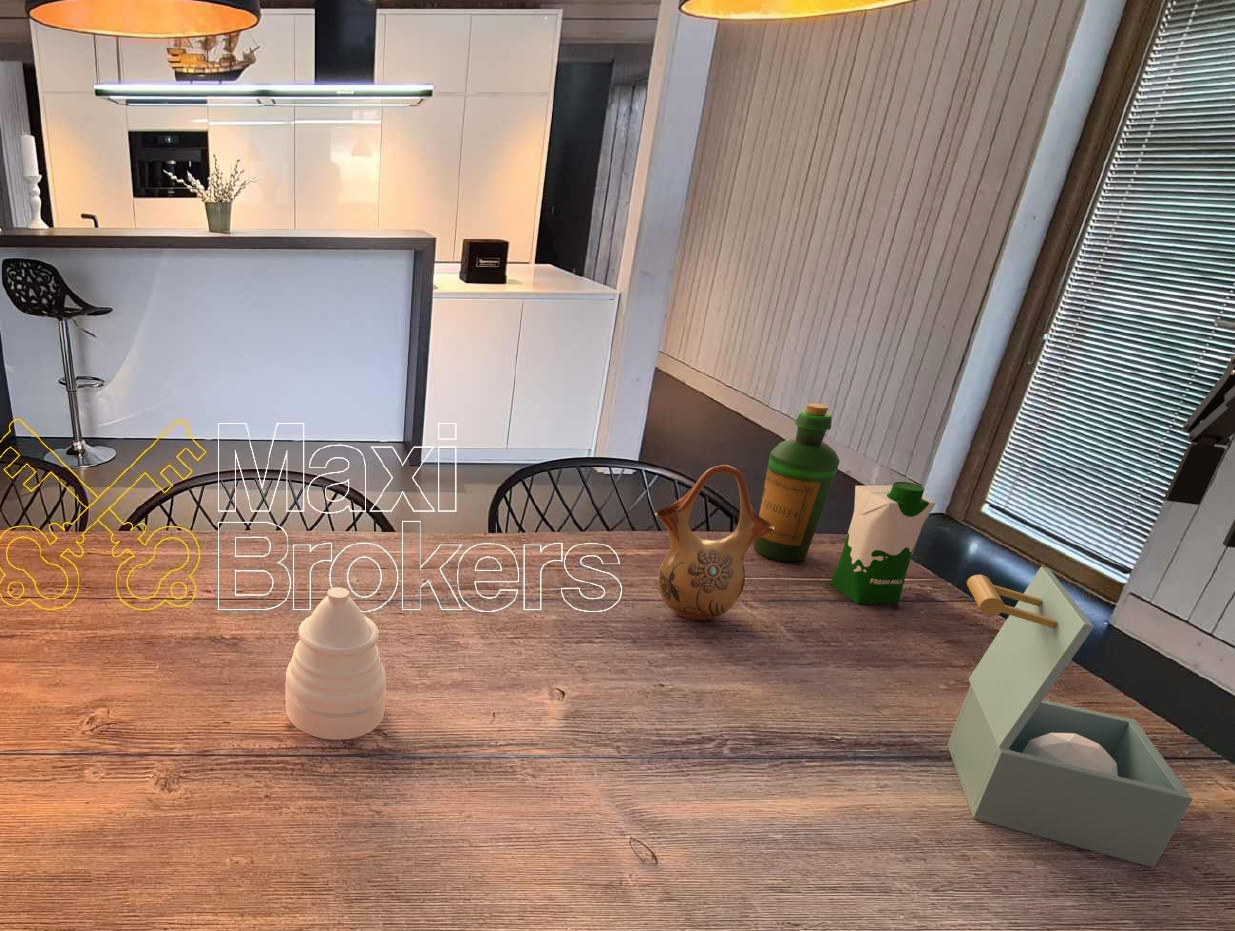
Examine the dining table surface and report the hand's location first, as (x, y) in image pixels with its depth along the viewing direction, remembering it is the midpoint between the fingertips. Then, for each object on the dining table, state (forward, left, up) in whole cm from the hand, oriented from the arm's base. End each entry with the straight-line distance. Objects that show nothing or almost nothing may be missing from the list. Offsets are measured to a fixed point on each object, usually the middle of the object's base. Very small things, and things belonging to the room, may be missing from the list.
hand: (1209, 523), depth 84 cm
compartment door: (+14, +12, -14) cm, 23 cm away
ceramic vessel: (+45, -15, -31) cm, 57 cm away
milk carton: (+20, -36, -31) cm, 51 cm away
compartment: (+8, +12, -31) cm, 34 cm away
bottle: (+32, -47, -31) cm, 65 cm away
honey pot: (+85, +33, -31) cm, 96 cm away
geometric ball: (+7, +12, -30) cm, 33 cm away
